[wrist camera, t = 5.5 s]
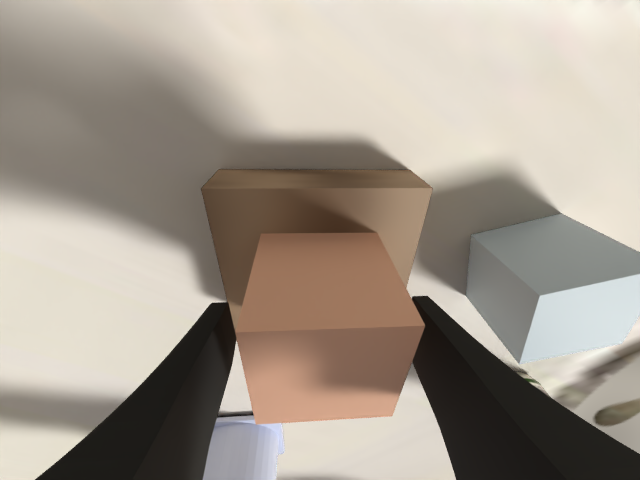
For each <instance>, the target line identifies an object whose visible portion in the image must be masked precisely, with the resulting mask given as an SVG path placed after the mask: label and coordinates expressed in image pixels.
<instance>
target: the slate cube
mask: <svg viewBox="0 0 640 480" xmlns="http://www.w3.org/2000/svg"><path fill="white" fill-rule="evenodd" d="M466 297H467V298H468V299H469V301H470V302H471V303H472V304H473V306H474V307H475V308H476V310H477V311H478V312H479V313H480V315H481V316H482V317H483V319H484V320H485V321H486V322H487V324H488V325H489V326H490V328H491V329H492V330H493V331H494V333H495V334H496V335H497V336H498V338H499V339H500V340H501V342H502V343H503V344H504V345H505V347H506V348H507V349H508V351H509V352H510V353H511V354H512V356H513V357H514V358H515V360H516V361H517V362H518V363H519V364H523V363H528V362H533V361H538V360H543V359H548V358H553V357H558V356H563V355H568V354H573V353H578V352H583V351H588V350H593V349H598V348H603V347H608V346H613V345H618V344H622V343H623V341H624V340H625V338H626V336H627V335H628V333H629V332H630V330H631V329H632V327H633V325H634V324H635V322H636V321H637V319H638V317H639V316H640V252H638V251H636V250H634V249H632V248H630V247H628V246H626V245H624V244H622V243H620V242H618V241H616V240H614V239H612V238H610V237H608V236H606V235H604V234H602V233H600V232H598V231H596V230H594V229H592V228H590V227H588V226H586V225H584V224H582V223H580V222H578V221H576V220H574V219H572V218H570V217H568V216H566V215H564V214H562V213H561V214H557V215H553V216H548V217H544V218H540V219H536V220H532V221H527V222H523V223H519V224H515V225H511V226H506V227H502V228H498V229H494V230H490V231H485V232H481V233H477V234H473V235H471V242H470V253H469V265H468V276H467V288H466Z"/></svg>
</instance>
